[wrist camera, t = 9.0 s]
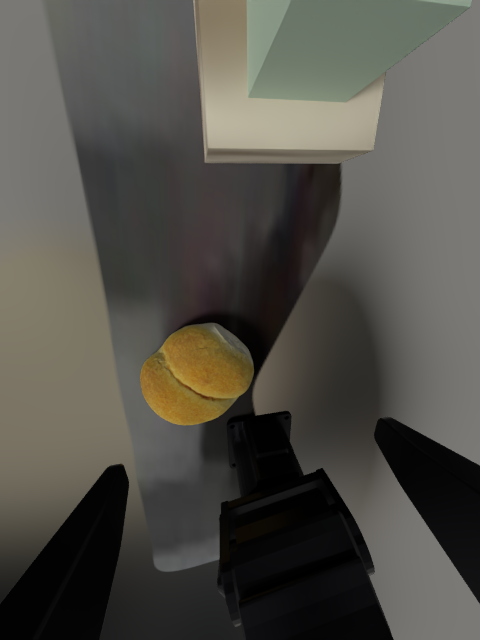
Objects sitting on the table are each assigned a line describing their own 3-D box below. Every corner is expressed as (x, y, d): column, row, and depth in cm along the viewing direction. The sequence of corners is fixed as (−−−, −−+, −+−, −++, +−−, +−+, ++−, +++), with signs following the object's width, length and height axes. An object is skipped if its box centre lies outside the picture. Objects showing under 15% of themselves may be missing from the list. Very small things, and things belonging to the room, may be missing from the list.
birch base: (338, 163, 16) (373, 150, 13) (205, 163, 15) (208, 148, 12) (361, -37, 13) (417, -122, 10) (188, -61, 11) (187, -170, 8)
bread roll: (126, 378, 20) (111, 414, 16) (196, 302, 19) (196, 323, 15) (201, 421, 23) (202, 458, 20) (266, 359, 22) (280, 387, 18)
